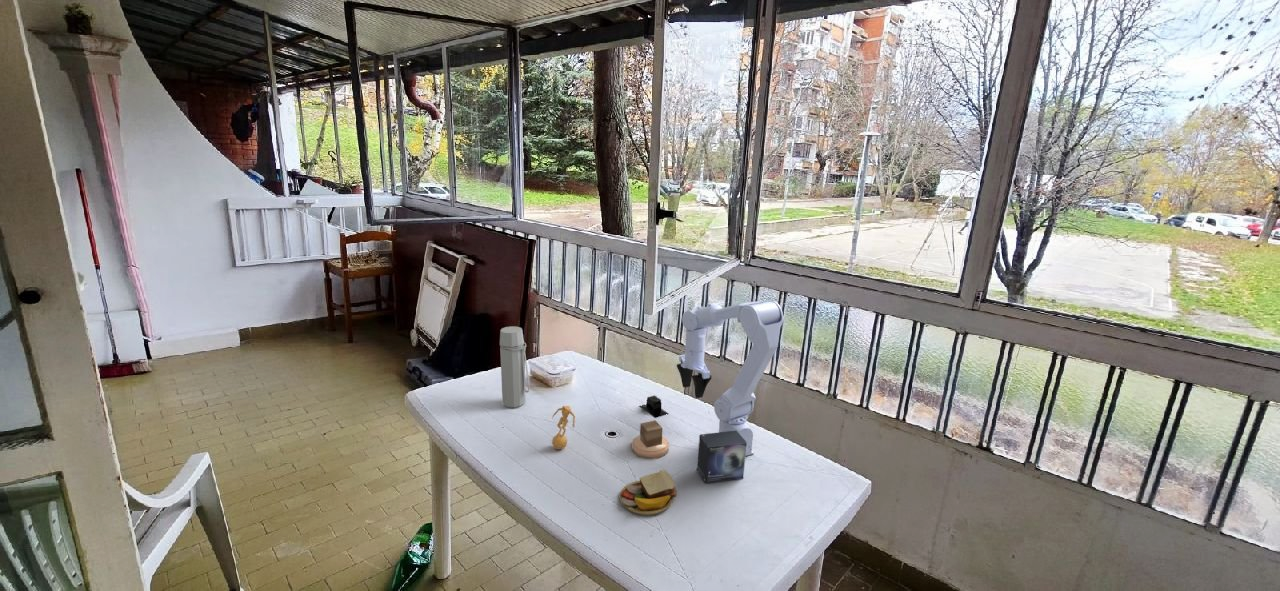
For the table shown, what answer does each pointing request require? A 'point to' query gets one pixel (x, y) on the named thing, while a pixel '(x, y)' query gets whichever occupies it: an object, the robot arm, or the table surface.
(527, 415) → the table surface
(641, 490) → the toy sandwich meal
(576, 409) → the table surface
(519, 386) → the water bottle
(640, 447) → the pedestal
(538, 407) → the table surface
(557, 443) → the figurine
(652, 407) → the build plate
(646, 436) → the walnut block
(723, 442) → the small box
